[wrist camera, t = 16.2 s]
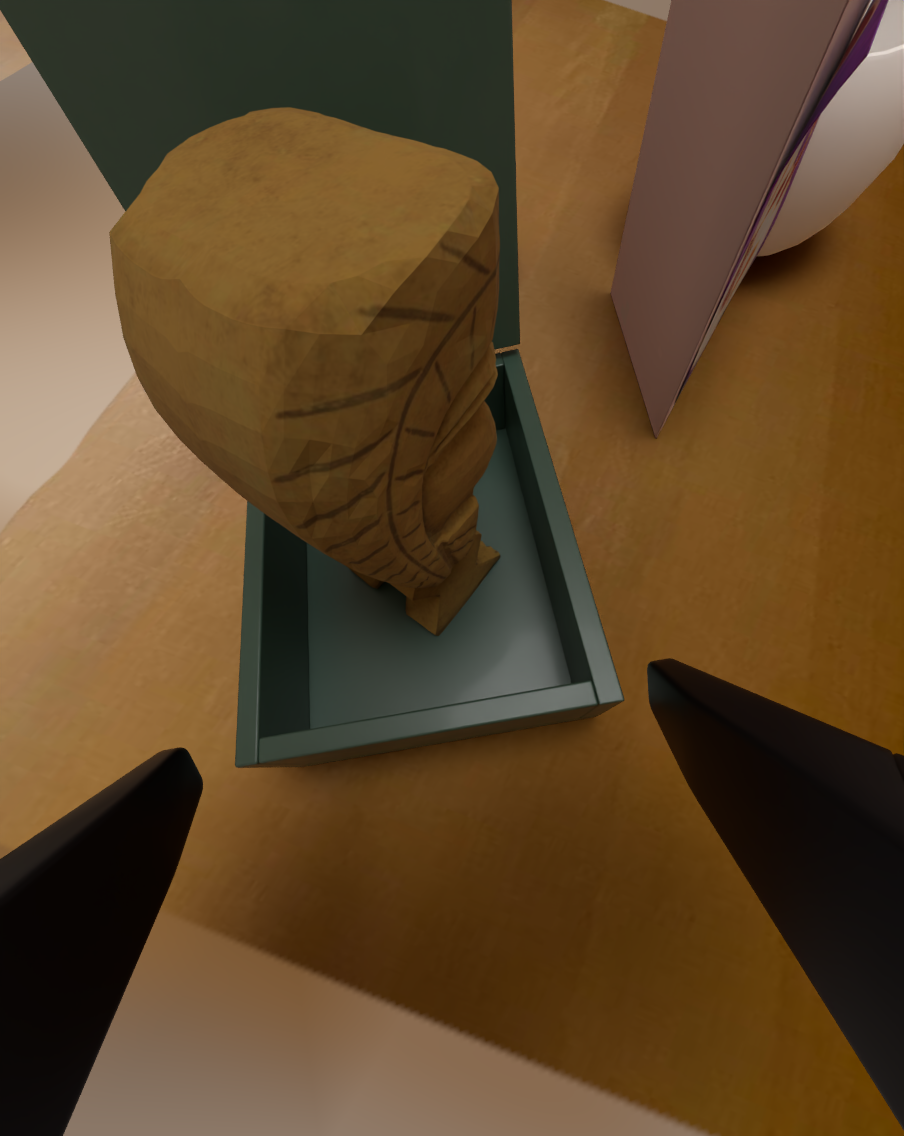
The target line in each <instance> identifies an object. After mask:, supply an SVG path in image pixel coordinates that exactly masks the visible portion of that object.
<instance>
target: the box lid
mask: <svg viewBox="0 0 904 1136" xmlns="http://www.w3.org/2000/svg"><path fill="white" fill-rule="evenodd" d="M0 10H1V12H2V13H3V15H4V17H5V18H6V20H7V22H8V23H9V25H10V26H11V28H12V30H13V31H14V33H15V34H16V36H17V38H18V39H19V41H20V42H21V44H22V46H23V47H24V49H25V50H26V52H27V54H28V55H29V57H30V59H31V60H32V62H33V63H34V65H35V67H36V68H37V70H38V71H39V73H40V74H41V76H42V78H43V79H44V81H45V82H46V84H47V86H48V87H49V89H50V91H51V92H52V94H53V96H54V97H55V99H56V100H57V102H58V104H59V105H60V107H61V108H62V110H63V111H64V113H65V115H66V116H67V118H68V120H69V121H70V123H71V124H72V126H73V128H74V129H75V131H76V133H77V134H78V136H79V137H80V139H81V141H82V142H83V144H84V145H85V147H86V149H87V150H88V152H89V153H90V155H91V157H92V158H93V160H94V161H95V163H96V165H97V166H98V168H99V170H100V171H101V173H102V174H103V176H104V178H105V179H106V181H107V182H108V184H109V186H110V187H111V189H112V190H113V192H114V194H115V195H116V197H117V199H118V200H119V202H120V203H121V205H122V207H123V208H124V209H125V211H127V209H128V208H129V207H130V205H131V204H132V203H133V202H134V200H135V199H136V198H137V197H138V195H139V194H140V193H141V191H142V189H143V187H144V185H145V183H146V181H147V180H148V179H149V178H150V177H151V176H152V175H153V173H154V172H155V171H156V170H157V169H158V168H159V166H160V165H161V163H162V161H163V160H164V158H165V156H166V155H167V154H168V153H169V152H170V151H172V150H173V149H174V148H176V147H177V146H179V145H180V144H181V143H183V142H184V141H185V140H187V139H188V138H190V137H191V136H193V135H196V134H198V133H200V132H202V131H204V130H206V129H208V128H210V127H212V126H215V125H217V124H220V123H222V122H225V121H227V120H230V119H234V118H238V117H241V116H245V115H246V114H248V113H249V112H252V111H258V110H264V109H270V108H285V107H291V108H296V109H301V110H307V111H312V112H317V113H320V114H322V115H325V116H329V117H334V118H337V119H340V120H344V121H346V122H349V123H352V124H355V125H357V126H361V127H364V128H367V129H370V130H373V131H376V132H381V133H385V134H389V135H393V136H397V137H402V138H406V139H411V140H414V141H418V142H422V143H425V144H428V145H431V146H434V147H440V148H444V149H447V150H450V151H452V152H455V153H458V154H461V155H463V156H466V157H468V158H471V159H473V160H476V161H478V162H479V163H480V164H482V165H483V166H484V167H486V168H487V169H488V170H489V171H491V172H492V174H493V177H494V179H495V181H496V183H497V185H498V187H499V236H500V255H499V297H498V309H497V315H496V321H495V328H494V334H493V340H492V342H493V346H494V349H499V348H503V347H508V346H513V345H517V344H520V325H519V284H518V243H517V203H516V162H515V121H514V80H513V40H512V0H0Z"/></svg>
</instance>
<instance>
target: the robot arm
mask: <svg viewBox="0 0 904 1136" xmlns="http://www.w3.org/2000/svg"><path fill="white" fill-rule="evenodd" d="M647 674H648V692H649V702H650V706H651V709H652V712H653V714H654V716H655V718H656V720H657V722H658V724H659V726H660V728H661V730H662V732H663V734H664V736H665V738H666V740H667V743H668V745H669V747H670V749H671V751H672V753H673V755H674V757H675V759H676V761H677V763H678V765H679V767H680V769H681V771H682V773H683V775H684V777H685V779H686V781H687V783H688V785H689V787H690V789H691V790H692V792H693V794H694V796H695V797H696V799H697V801H698V802H699V804H700V805H701V807H702V809H703V810H704V812H705V813H706V815H707V817H708V818H709V820H710V821H711V823H712V825H713V826H714V828H715V829H716V831H717V833H718V834H719V836H720V837H721V839H722V841H723V842H724V844H725V845H726V847H727V849H728V850H729V852H730V853H731V855H732V856H733V858H734V860H735V861H736V863H737V864H738V866H739V868H740V869H741V871H742V872H743V874H744V876H745V877H746V879H747V880H748V882H749V884H750V885H751V887H752V888H753V890H754V892H755V893H756V895H757V896H758V898H759V900H760V901H761V903H762V904H763V906H764V908H765V909H766V911H767V912H768V914H769V916H770V917H771V919H772V920H773V922H774V924H775V925H776V927H777V928H778V930H779V932H780V933H781V935H782V936H783V938H784V940H785V941H786V943H787V944H788V946H789V948H790V949H791V951H792V952H793V954H794V956H795V957H796V959H797V960H798V962H799V963H800V965H801V967H802V968H803V970H804V971H805V973H806V975H807V976H808V978H809V979H810V981H811V983H812V984H813V986H814V987H815V989H816V991H817V992H818V994H819V995H820V997H821V999H822V1000H823V1002H824V1003H825V1005H826V1007H827V1008H828V1010H829V1011H830V1013H831V1015H832V1016H833V1018H834V1019H835V1021H836V1023H837V1024H838V1026H839V1027H840V1029H841V1031H842V1032H843V1034H844V1035H845V1037H846V1039H847V1040H848V1042H849V1043H850V1045H851V1047H852V1048H853V1050H854V1051H855V1053H856V1055H857V1056H858V1058H859V1059H860V1061H861V1063H862V1064H863V1066H864V1067H865V1069H866V1070H867V1072H868V1074H869V1075H870V1077H871V1078H872V1080H873V1082H874V1083H875V1085H876V1086H877V1088H878V1090H879V1091H880V1093H881V1094H882V1096H883V1098H884V1099H885V1101H886V1102H887V1104H888V1106H889V1107H890V1109H891V1110H892V1112H893V1114H894V1115H895V1117H896V1118H897V1120H898V1122H899V1123H900V1125H901V1126H902V1128H903V1130H904V756H903V755H900V754H897V753H896V754H894V755H893V754H892V752H891V751H890V750H888V749H886V748H883V747H881V746H879V745H876V744H874V743H871V742H869V741H867V740H864V739H862V738H860V737H857V736H855V735H852V734H850V733H848V732H845V731H843V730H841V729H838V728H836V727H833V726H831V725H829V724H826V723H824V722H822V721H819V720H817V719H814V718H812V717H810V716H807V715H805V714H803V713H800V712H798V711H795V710H793V709H791V708H788V707H786V706H784V705H781V704H779V703H776V702H774V701H772V700H769V699H767V698H765V697H762V696H760V695H757V694H755V693H753V692H750V691H748V690H746V689H743V688H741V687H738V686H736V685H734V684H731V683H729V682H727V681H724V680H722V679H719V678H717V677H715V676H712V675H710V674H708V673H705V672H703V671H700V670H698V669H696V668H693V667H691V666H689V665H686V664H684V663H681V662H679V661H677V660H674V659H670V658H668V659H663V660H657V661H652V662H650V663H649V664H648V668H647ZM202 790H203V781H202V777H201V775H200V773H199V771H198V769H197V767H196V766H195V764H194V762H193V760H192V758H191V756H190V754H189V752H188V751H187V750H186V749H184V748H174V749H169V750H163V751H161V752H159V753H157V754H156V755H154V756H153V757H151V758H150V759H148V760H147V761H145V762H144V763H142V764H141V765H139V766H138V767H136V768H135V769H133V770H132V771H130V772H129V773H127V774H126V775H125V776H123V777H122V778H120V779H119V780H117V781H116V782H114V783H113V784H111V785H110V786H108V787H107V788H105V789H104V790H102V791H101V792H99V793H98V794H96V795H95V796H93V797H92V798H90V799H89V800H87V801H86V802H84V803H83V804H81V805H80V806H79V807H77V808H76V809H74V810H73V811H71V812H70V813H68V814H67V815H65V816H64V817H62V818H61V819H59V820H58V821H56V822H55V823H53V824H52V825H50V826H49V827H47V828H46V829H44V830H43V831H41V832H40V833H38V834H37V835H35V836H34V837H32V838H31V839H30V840H28V841H27V842H25V843H24V844H22V845H21V846H19V847H18V848H16V849H15V850H13V851H12V852H10V853H9V854H7V855H6V856H4V857H3V858H1V859H0V1136H63V1134H64V1132H65V1129H66V1127H67V1125H68V1123H69V1120H70V1118H71V1116H72V1113H73V1111H74V1109H75V1106H76V1104H77V1102H78V1099H79V1097H80V1095H81V1092H82V1090H83V1088H84V1085H85V1083H86V1081H87V1078H88V1076H89V1074H90V1071H91V1069H92V1067H93V1064H94V1062H95V1060H96V1057H97V1055H98V1053H99V1050H100V1048H101V1046H102V1043H103V1041H104V1039H105V1036H106V1034H107V1032H108V1029H109V1027H110V1024H111V1022H112V1020H113V1018H114V1015H115V1013H116V1011H117V1008H118V1006H119V1004H120V1001H121V999H122V997H123V994H124V992H125V989H126V987H127V985H128V982H129V980H130V978H131V976H132V973H133V971H134V969H135V966H136V964H137V961H138V959H139V957H140V954H141V952H142V950H143V948H144V945H145V943H146V940H147V938H148V936H149V934H150V931H151V929H152V927H153V924H154V922H155V919H156V917H157V915H158V913H159V910H160V908H161V906H162V903H163V901H164V899H165V896H166V894H167V892H168V889H169V887H170V884H171V882H172V879H173V877H174V874H175V872H176V869H177V866H178V863H179V860H180V857H181V854H182V851H183V848H184V845H185V842H186V839H187V836H188V833H189V830H190V827H191V824H192V821H193V818H194V815H195V812H196V809H197V806H198V803H199V800H200V797H201V794H202Z"/></svg>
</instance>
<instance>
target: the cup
mask: <svg viewBox="0 0 904 1136" xmlns="http://www.w3.org/2000/svg"><path fill="white" fill-rule="evenodd" d="M871 2H872V0H871V1H870V4H871ZM870 4H869V6H870ZM869 6H868V8H869ZM868 8H867V10H868ZM867 10H866V12H867ZM866 12H865V14H866ZM865 14H864V15H865ZM863 17H864V16H863ZM903 144H904V0H889V1H888V3H887V6H886V9H885V11H884V14H883V17H882V19H881V22H880V25H879V27H878V30H877V33H876V35H875V38H874V41H873V43H872V46H871V48H870V51H869V54H868V55H867V57H866V58H865V59H864V60H863V62H862V63H861V64H860V65H859V66H858V68H857V69H856V70H855V71H854V72H853V74H852V75H851V76H850V77H849V78H848V80H847V81H846V82H845V83H844V84H843V86H842V87H841V88H840V89H839V91H838V92H837V93H836V95H835V96H834V97H833V99H832V100H831V101H830V103H829V104H828V105H827V107H826V108H825V109H824V111H823V112H822V113H821V115H820V117H819V120H818V122H817V125H816V127H815V129H814V132H813V134H812V137H811V139H810V141H809V144H808V146H807V149H806V151H805V153H804V156H803V158H802V161H801V163H800V165H799V168H798V170H797V173H796V175H795V177H794V180H793V182H792V185H791V187H790V189H789V192H788V194H787V197H786V199H785V201H784V204H783V206H782V208H781V210H780V212H779V214H778V217H777V219H776V221H775V223H774V225H773V227H772V229H771V231H770V233H769V235H768V237H767V238H766V240H765V242H764V244H763V246H762V248H761V250H760V251H759V253H758V255H757V256H768V255H771V254H774V253H777V252H780V251H782V250H785V249H788V248H791V247H793V246H796V245H798V244H800V243H802V242H803V241H805V240H806V239H808V238H809V237H811V236H813V235H814V234H816V233H817V232H819V231H820V230H822V229H824V228H825V227H826V226H828V225H829V224H830V223H831V222H832V221H833V220H834V219H836V218H837V217H838V216H839V215H840V214H841V213H843V212H844V211H845V210H846V209H847V208H848V207H849V206H850V205H851V204H852V203H853V202H854V201H855V200H856V199H857V198H858V197H859V196H860V195H861V193H862V192H863V191H864V190H865V189H866V188H867V187H868V186H869V185H870V184H871V183H872V182H873V181H874V180H875V178H876V177H877V176H878V175H879V174H880V173H881V172H882V171H883V170H884V169H885V168H886V167H887V166H888V165H889V164H890V162H891V161H892V160H893V159H894V158H895V157H896V155H897V153H898V152H899V150H900V149H901V147H902V145H903ZM757 256H756V257H757Z"/></svg>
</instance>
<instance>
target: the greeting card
mask: <svg viewBox="0 0 904 1136" xmlns="http://www.w3.org/2000/svg"><path fill="white" fill-rule="evenodd" d="M870 1H871V0H671V5H670V10H669V15H668V20H667V24H666V29H665V34H664V39H663V44H662V48H661V53H660V58H659V63H658V68H657V73H656V77H655V82H654V87H653V92H652V97H651V101H650V106H649V111H648V116H647V121H646V126H645V130H644V135H643V140H642V145H641V150H640V154H639V159H638V164H637V169H636V174H635V179H634V183H633V188H632V193H631V198H630V203H629V207H628V212H627V217H626V222H625V227H624V231H623V236H622V241H621V246H620V251H619V256H618V260H617V265H616V270H615V275H614V280H613V284H612V289H611V296H612V299H613V303H614V306H615V309H616V312H617V315H618V319H619V322H620V325H621V328H622V332H623V335H624V338H625V341H626V344H627V348H628V351H629V354H630V357H631V361H632V364H633V367H634V370H635V373H636V377H637V380H638V383H639V386H640V390H641V393H642V396H643V399H644V402H645V406H646V409H647V412H648V415H649V419H650V422H651V425H652V428H653V431H654V435H655V438H656V439H657V437H658V435H659V433H660V431H661V429H662V427H663V425H664V424H665V422H666V420H667V418H668V416H669V414H670V412H671V410H672V409H673V407H674V405H675V403H676V401H677V399H678V397H679V395H680V394H681V392H682V390H683V388H684V386H685V384H686V382H687V381H688V379H689V377H690V375H691V373H692V371H693V369H694V367H695V366H696V364H697V362H698V360H699V358H700V356H701V354H702V352H703V351H704V349H705V347H706V345H707V343H708V341H709V339H710V338H711V336H712V334H713V332H714V330H715V328H716V326H717V324H718V323H719V321H720V319H721V317H722V315H723V313H724V311H725V309H726V308H727V306H728V304H729V302H730V300H731V298H732V296H733V295H734V293H735V291H736V290H737V288H738V286H739V285H740V283H741V281H742V280H743V278H744V276H745V275H746V273H747V271H748V270H749V268H750V267H751V265H752V263H753V261H754V260H755V258H756V256H757V255H758V253H759V251H760V250H761V248H762V246H763V244H764V242H765V240H766V238H767V237H768V235H769V233H770V231H771V229H772V227H773V225H774V223H775V221H776V219H777V217H778V214H779V212H780V210H781V208H782V206H783V204H784V201H785V199H786V197H787V194H788V192H789V189H790V187H791V185H792V182H793V180H794V177H795V175H796V173H797V170H798V168H799V165H800V163H801V161H802V158H803V156H804V153H805V151H806V149H807V146H808V144H809V141H810V139H811V137H812V134H813V132H814V129H815V127H816V125H817V122H818V120H819V117H820V115H821V113H822V112H823V111H824V109H825V108H826V107H827V105H828V104H829V103H830V101H831V100H832V99H833V97H834V96H835V95H836V93H837V92H838V91H839V89H840V88H841V87H842V86H843V84H844V83H845V82H846V81H847V80H848V78H849V77H850V76H851V75H852V74H853V72H854V71H855V70H856V69H857V68H858V66H859V65H860V64H861V63H862V62H863V60H864V59H865V58H866V57H867V55H868V54H869V51H870V48H871V46H872V43H873V41H874V38H875V35H876V33H877V30H878V27H879V25H880V22H881V19H882V17H883V14H884V11H885V9H886V6H887V3H888V1H889V0H872V2H871V4H870ZM869 4H870V6H869ZM868 6H869V8H868ZM867 8H868V10H867ZM866 10H867V12H866ZM865 12H866V14H865ZM864 14H865V15H864ZM863 16H864V17H863Z"/></svg>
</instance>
